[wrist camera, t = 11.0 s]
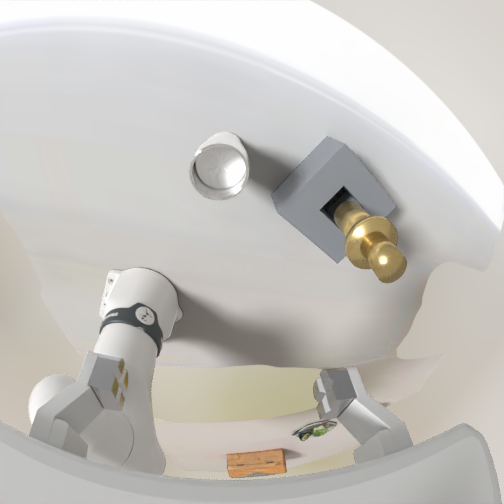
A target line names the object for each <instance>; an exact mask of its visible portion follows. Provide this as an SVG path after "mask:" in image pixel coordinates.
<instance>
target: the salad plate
mask: <svg viewBox="0 0 504 504" xmlns="http://www.w3.org/2000/svg"><path fill="white" fill-rule="evenodd" d="M324 424H329V426H328V427H327V428H325V426H324ZM335 426H336V423H334V422H331V421H321V422H316V423H312V424H309V425H306V426H305V427H303V428H301V429H300V430H298V431H297V432H295V433H294V434H293V435H296V436H297V437H299V438H300V440H301V441H305V440H306V439H308V438H309V437H318V436H321V435H324V434H325V433H327V432H328V431H329V430H331V429H333V428H334V427H335Z"/></svg>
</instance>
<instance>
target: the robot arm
mask: <svg viewBox="0 0 504 504" xmlns="http://www.w3.org/2000/svg"><path fill="white" fill-rule="evenodd" d="M111 279H112V280H111ZM99 315H100V316H101V318H102V319H103V321H102V324H101V328H100V336H99V338H98V341H97V343H96V346H95V348H94V351H93V352H90V351H89V352H88V353H87V354H86V357H85V360H84V362H83V365H82V367H81V370H80V373H79V376H78V378H77V380H76V379H75V378H73V377H72V376H70V375H68V374H64V373H58V374H53V375H49V376H47V377H45V378H44V379H42V380H41V381H40V382H38V384H37V385H36V386H35V388H34V389H33V391H32V393H31V395H30V399H29V408H28V410H29V418H30V421H31V424H32V428H31V431H30V434H29V436H28V435H26V434H24V433H22V432H20V431H18V430H16V429H14V428H13V427H11V426H9V425H7V424H5V423H3V422H2V421H0V504H502V503H501V494H500V489H499V484H498V479H497V474H496V470H495V467H494V464H493V460H492V456H491V454H490V450H489V448H488V445H487V443H486V440H485V438H484V437H483V435H482V434H481V433H480V432H478V431H477V430H475V429H474V428H473V427H471V426H469V425H467V424H464V423H463V424H459V425H458V426H456V427H454V428H452V429H450V430H448V431H445V432H443V433H441V434H439V435H437V436H435V437H433V438H430V439H428V440H426V441H423V442H421V443H419V444H416V445H414V446H413V443H412V440H411V438H410V435H409V432H408V430H407V427H406V425H405V423H404V422H403V421H401V420H400V419H399V418H398V417H396V416H395V415H394V414H393V413H391V412H390V411H389V410H388V409H386V408H385V407H384V406H383V405H381V404H380V403H379V402H378V401H377V400H375V399H374V398H373V397H372V396H368V395H367V392H366V390H365V387H364V385H363V382H362V380H361V377H360V375H359V372H358V370H357V368H356V367H346V368H344V367H343V368H332V369H324V370H322V371H321V373H320V376H321V377H320V378H318V379H317V380H316V381H315V383H314V387H313V393H314V398H315V399H316V400H317V401H318V402H319V404H318V406H317V410H318V414H319V417H320V420H322V419H331V418H337V419H338V420H339V421H340V422H341V423H342V424H343V426H344V427H345V428H346V429H347V430H348V431H349V432H350V433H351V434H352V435H353V436H354V437H355V438H356V439H357V440H358V441H359V443H360V444H361V446H360V447H359V448H357V449H356V450H355V451H354V452H353V455H354V459H355V463H356V464H355V465H351V466H348V467H343V468H338V469H334V470H329V471H324V472H318V473H312V474H306V475H299V476H291V477H282V478H272V479H255V480H206V479H190V478H180V477H171V476H163V475H162V474H163V473H164V470H165V466H166V459H165V455H164V452H163V451H162V449H161V447H160V445H159V442H158V439H157V436H156V431H155V425H154V419H153V411H152V399H151V387H152V379H153V373H154V368H155V362H156V358H157V357H158V356H159V354H160V351H161V349H162V344H163V341H165V340H166V339H167V338H169V337H170V335H171V332H172V329H173V326H174V323H175V322H177V321H178V320H180V319H181V318H182V315H183V313H182V311H181V309H180V307H179V306H178V297H177V293H176V291H175V289H174V287H173V285H172V284H171V283H170V282H169V281H168V280H167V279H166V278H165V277H164V276H162V275H161V274H159V273H157V272H155V271H152V270H149V269H145V268H131V269H128V270H124V271H120V270H111V271H109V273H108V276H107V280H106V284H105V289H104V293H103V298H102V302H101V307H100V313H99Z"/></svg>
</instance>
